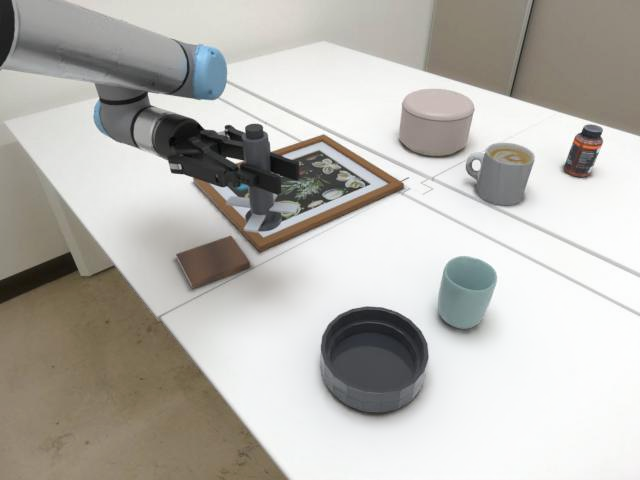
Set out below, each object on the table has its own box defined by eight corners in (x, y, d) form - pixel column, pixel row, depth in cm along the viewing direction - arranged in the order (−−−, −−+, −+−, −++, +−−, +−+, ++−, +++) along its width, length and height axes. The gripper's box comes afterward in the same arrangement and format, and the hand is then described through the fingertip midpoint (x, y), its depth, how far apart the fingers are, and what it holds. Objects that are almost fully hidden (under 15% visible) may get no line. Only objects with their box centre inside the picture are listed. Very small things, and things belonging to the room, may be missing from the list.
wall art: (404, 183, 104) (259, 246, 87) (403, 188, 105) (259, 252, 88) (323, 133, 123) (192, 177, 106) (323, 138, 124) (193, 183, 107)
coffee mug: (529, 192, 103) (543, 152, 97) (509, 211, 97) (522, 170, 91) (476, 171, 110) (485, 133, 104) (454, 188, 105) (462, 148, 98)
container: (384, 137, 125) (388, 95, 117) (435, 122, 131) (442, 82, 124) (427, 165, 112) (434, 121, 105) (481, 148, 119) (491, 105, 112)
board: (192, 289, 80) (190, 283, 79) (177, 260, 86) (175, 254, 85) (250, 267, 84) (249, 261, 83) (232, 241, 90) (231, 235, 89)
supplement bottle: (595, 176, 108) (614, 132, 101) (573, 179, 107) (590, 135, 100) (579, 164, 113) (596, 121, 105) (557, 166, 112) (573, 123, 105)
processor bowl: (358, 436, 59) (360, 413, 56) (303, 354, 69) (302, 331, 66) (444, 385, 65) (451, 361, 61) (382, 316, 75) (385, 293, 71)
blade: (287, 247, 66) (280, 150, 56) (217, 237, 68) (198, 141, 58) (306, 205, 74) (303, 114, 64) (243, 197, 76) (231, 107, 67)
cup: (426, 322, 74) (435, 277, 68) (445, 293, 79) (455, 249, 72) (472, 344, 70) (487, 299, 64) (489, 312, 75) (504, 268, 69)
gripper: (211, 138, 81) (321, 175, 71) (135, 180, 70) (252, 231, 60) (204, 96, 76) (321, 130, 66) (121, 135, 65) (246, 182, 55)
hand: (288, 178), depth 63 cm, fingers closed on blade, 4 cm apart
